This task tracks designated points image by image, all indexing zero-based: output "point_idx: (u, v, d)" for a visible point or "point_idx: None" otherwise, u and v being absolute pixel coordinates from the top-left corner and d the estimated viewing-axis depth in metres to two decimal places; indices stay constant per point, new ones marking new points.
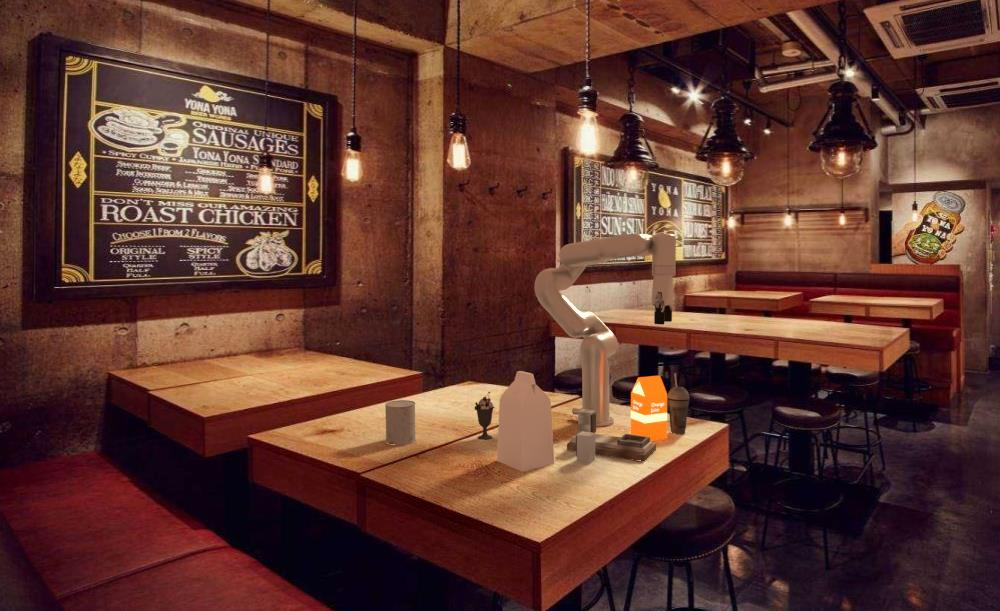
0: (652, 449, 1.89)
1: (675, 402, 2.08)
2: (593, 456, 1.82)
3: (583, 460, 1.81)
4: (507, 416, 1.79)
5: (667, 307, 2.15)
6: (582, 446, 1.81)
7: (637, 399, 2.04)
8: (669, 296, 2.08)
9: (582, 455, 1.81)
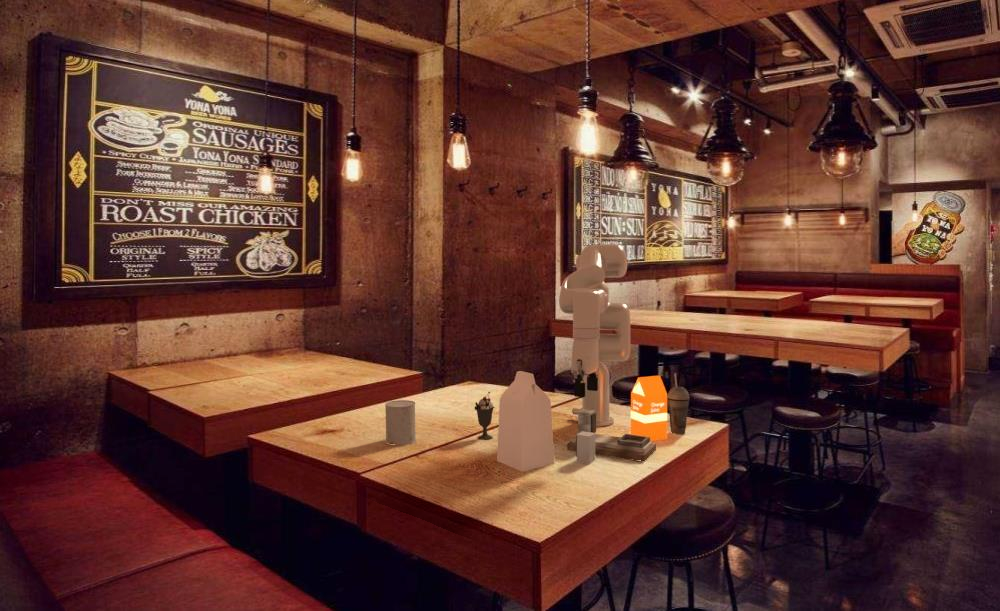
0: (652, 449, 1.89)
1: (675, 402, 2.08)
2: (593, 456, 1.82)
3: (583, 460, 1.81)
4: (507, 416, 1.79)
5: (592, 374, 1.85)
6: (582, 446, 1.81)
7: (637, 399, 2.04)
8: (592, 363, 1.78)
9: (582, 455, 1.81)
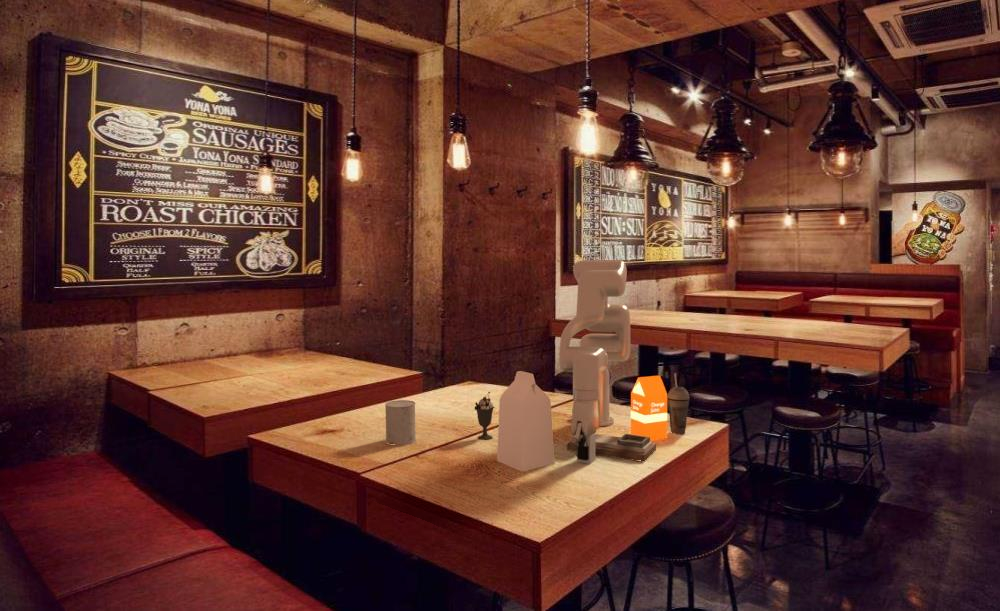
0: (652, 449, 1.89)
1: (675, 402, 2.08)
2: (593, 456, 1.82)
3: (583, 460, 1.81)
4: (507, 416, 1.79)
5: None
6: None
7: (637, 399, 2.04)
8: (591, 424, 1.80)
9: None
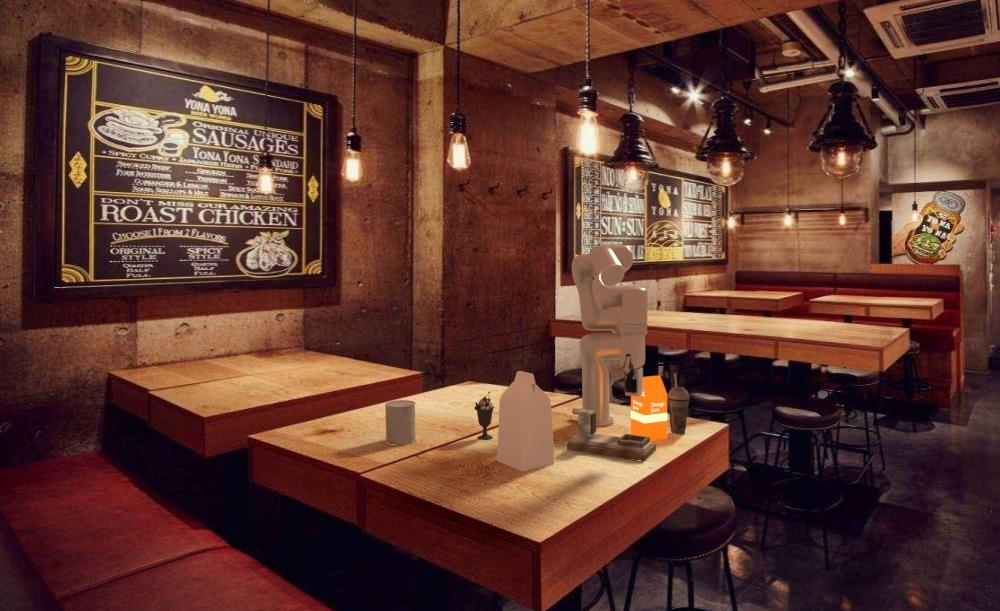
0: (652, 449, 1.89)
1: (675, 402, 2.08)
2: (641, 390, 1.87)
3: (631, 393, 1.86)
4: (507, 416, 1.79)
5: None
6: None
7: (637, 399, 2.04)
8: (640, 358, 1.85)
9: None
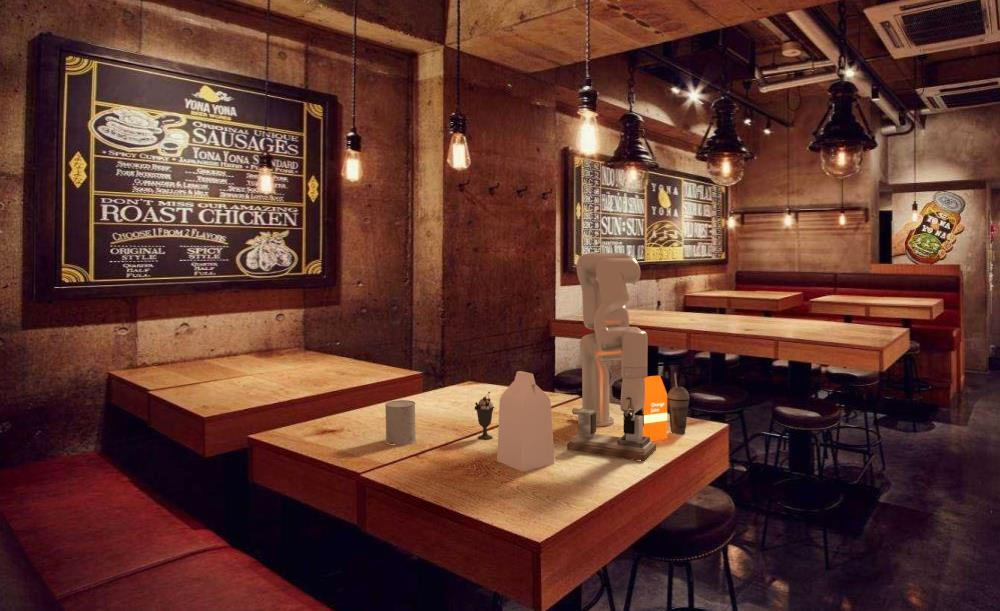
0: (652, 449, 1.89)
1: (675, 402, 2.08)
2: (641, 438, 1.88)
3: None
4: (507, 416, 1.79)
5: (639, 410, 1.92)
6: None
7: None
8: (640, 401, 1.86)
9: (631, 437, 1.87)
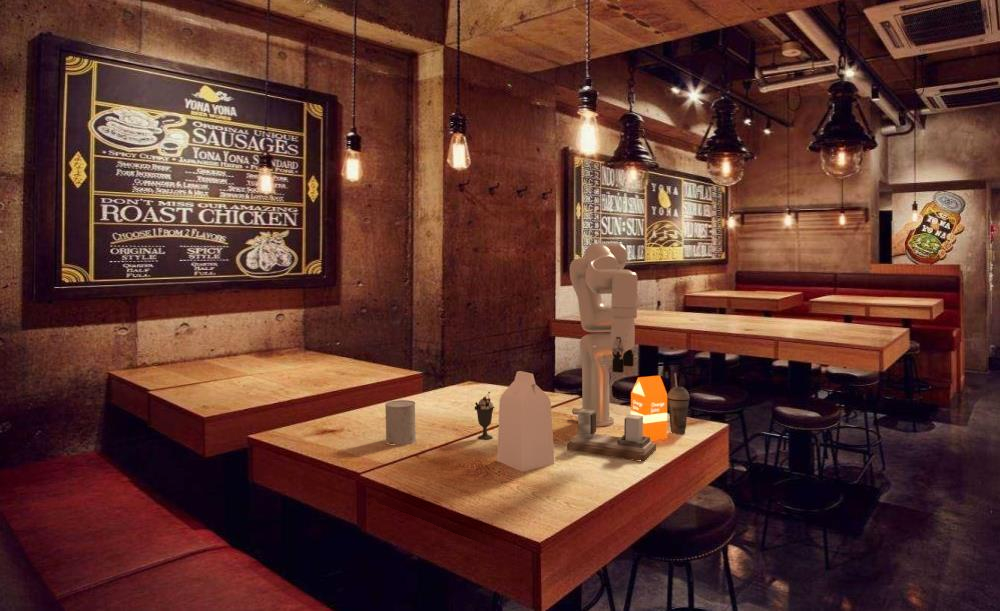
0: (652, 449, 1.89)
1: (675, 402, 2.08)
2: (641, 438, 1.88)
3: None
4: (507, 416, 1.79)
5: (628, 350, 1.96)
6: (631, 428, 1.87)
7: (637, 399, 2.04)
8: (629, 341, 1.88)
9: (631, 437, 1.87)
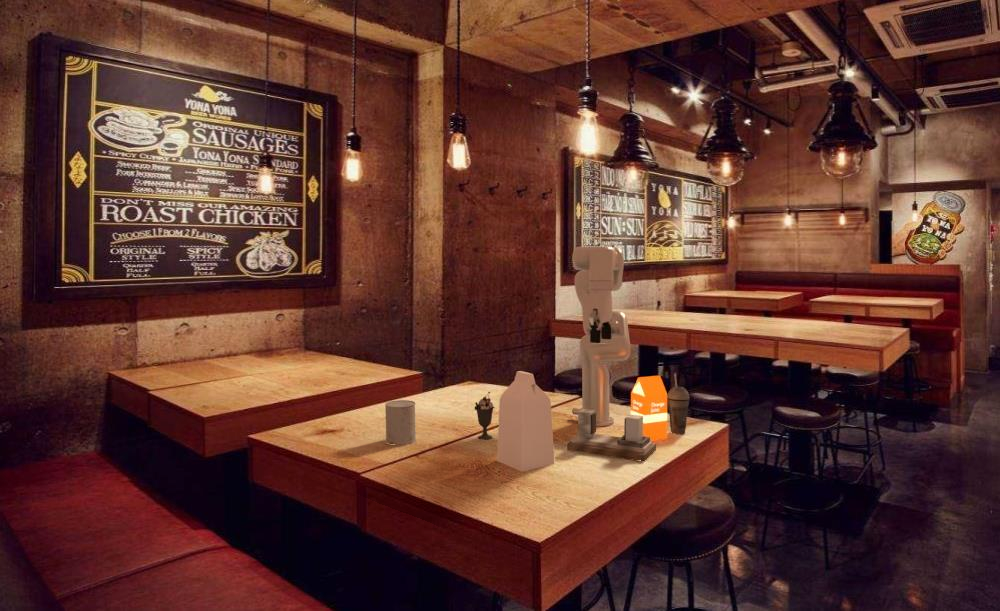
0: (652, 449, 1.89)
1: (675, 402, 2.08)
2: (641, 438, 1.88)
3: None
4: (507, 416, 1.79)
5: (606, 324, 2.03)
6: (631, 428, 1.87)
7: (637, 399, 2.04)
8: (606, 313, 1.96)
9: (631, 437, 1.87)
